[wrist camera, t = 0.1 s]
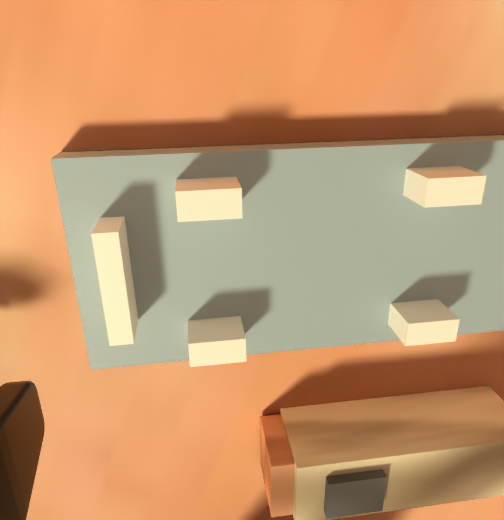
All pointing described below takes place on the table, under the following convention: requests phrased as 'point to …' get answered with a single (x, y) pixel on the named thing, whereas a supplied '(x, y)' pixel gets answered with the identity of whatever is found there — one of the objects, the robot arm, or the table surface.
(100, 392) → the table surface
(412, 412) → the beam with grey square
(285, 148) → the jig
